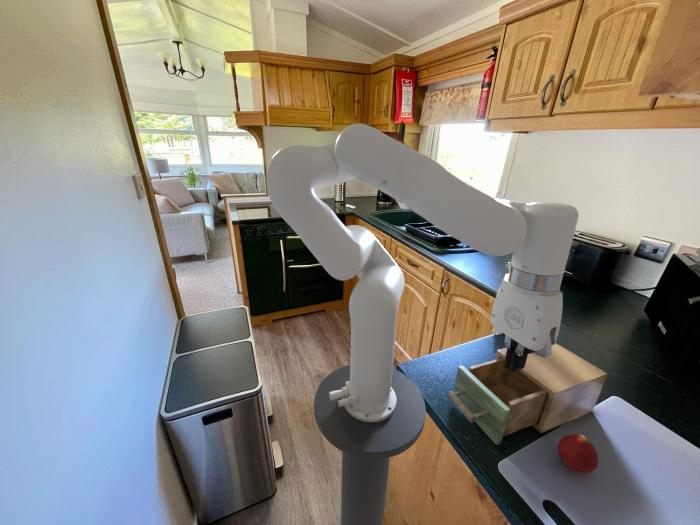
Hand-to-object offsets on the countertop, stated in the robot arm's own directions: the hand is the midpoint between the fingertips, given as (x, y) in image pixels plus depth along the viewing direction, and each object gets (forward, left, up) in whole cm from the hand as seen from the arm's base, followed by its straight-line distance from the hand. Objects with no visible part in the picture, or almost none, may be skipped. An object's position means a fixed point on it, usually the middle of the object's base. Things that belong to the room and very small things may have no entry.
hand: (513, 367), depth 54 cm
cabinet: (+18, +4, -17) cm, 25 cm away
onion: (+8, -10, -17) cm, 22 cm away
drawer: (+3, +4, -16) cm, 17 cm away
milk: (+34, +29, -17) cm, 48 cm away
